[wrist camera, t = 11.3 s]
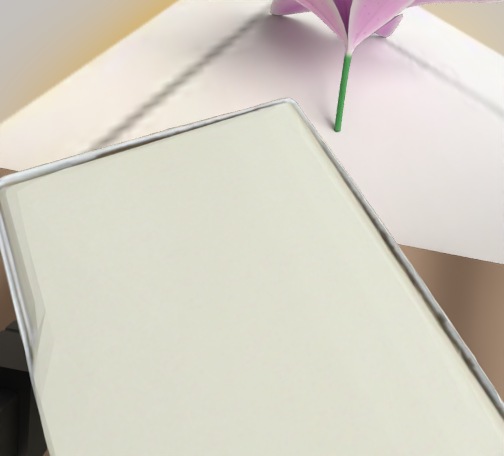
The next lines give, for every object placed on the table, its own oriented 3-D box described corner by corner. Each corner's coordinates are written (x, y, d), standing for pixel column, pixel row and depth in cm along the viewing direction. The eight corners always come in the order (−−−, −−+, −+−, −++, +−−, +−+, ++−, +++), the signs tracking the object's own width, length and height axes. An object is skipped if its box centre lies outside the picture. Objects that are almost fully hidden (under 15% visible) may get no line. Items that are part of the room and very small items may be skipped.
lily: (477, 110, 27) (534, -94, 22) (428, 195, 18) (502, -109, 13) (289, 78, 32) (298, -94, 27) (181, 133, 23) (164, -104, 18)
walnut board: (506, 287, 21) (534, 270, 19) (552, 821, 13) (606, 876, 11) (14, 193, 21) (-4, 166, 19) (-216, 662, 13) (-281, 691, 12)
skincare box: (328, 509, 15) (645, 592, 4) (199, 583, 14) (163, 969, 3) (244, 325, 17) (299, 75, 7) (129, 375, 16) (-30, 171, 5)
